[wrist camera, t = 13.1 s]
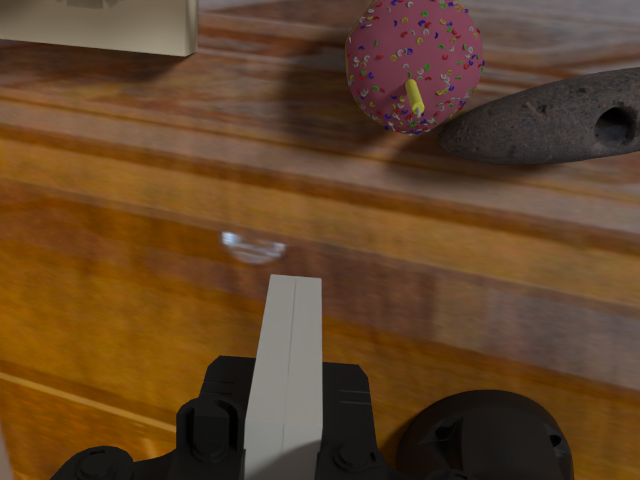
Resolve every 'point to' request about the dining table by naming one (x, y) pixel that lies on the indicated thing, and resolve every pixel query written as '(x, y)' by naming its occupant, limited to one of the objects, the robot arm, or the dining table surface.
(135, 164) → the dining table surface
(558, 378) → the dining table surface
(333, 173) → the dining table surface
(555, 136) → the perforated stone tool
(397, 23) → the cupcake
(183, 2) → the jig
